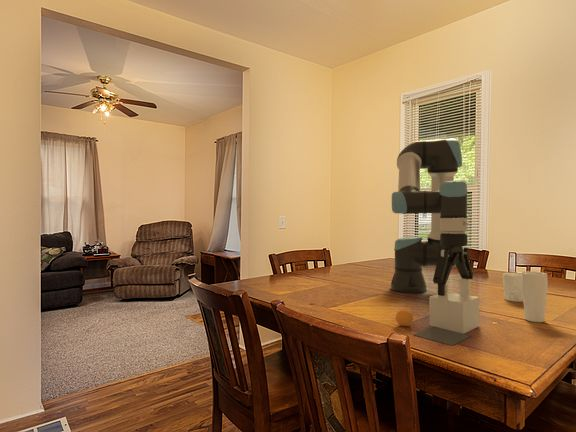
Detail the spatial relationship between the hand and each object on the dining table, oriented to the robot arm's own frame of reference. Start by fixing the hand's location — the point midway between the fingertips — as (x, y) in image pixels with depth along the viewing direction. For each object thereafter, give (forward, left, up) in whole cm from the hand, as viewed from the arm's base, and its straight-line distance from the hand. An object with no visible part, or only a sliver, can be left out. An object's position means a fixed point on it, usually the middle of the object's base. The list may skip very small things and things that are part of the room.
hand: (454, 303), depth 111 cm
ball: (-10, -11, -5) cm, 15 cm away
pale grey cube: (0, 0, -7) cm, 7 cm away
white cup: (0, +49, -7) cm, 50 cm away
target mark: (+2, -11, -7) cm, 13 cm away
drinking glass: (+14, +24, -7) cm, 29 cm away
